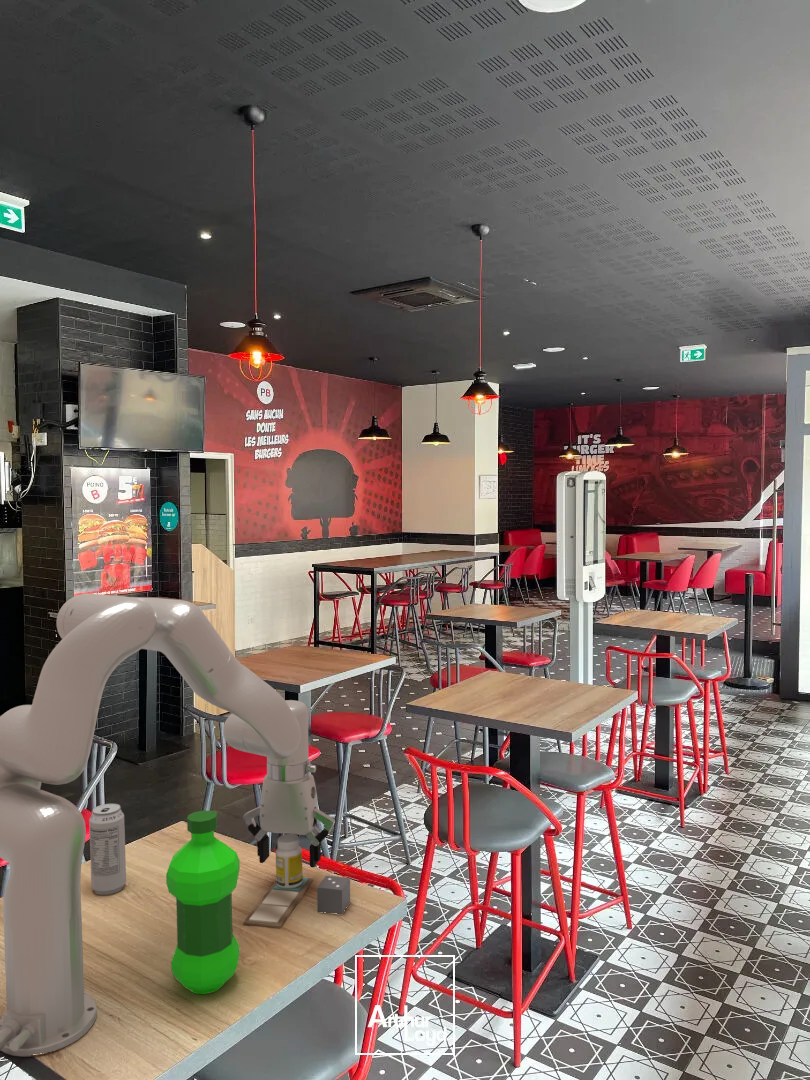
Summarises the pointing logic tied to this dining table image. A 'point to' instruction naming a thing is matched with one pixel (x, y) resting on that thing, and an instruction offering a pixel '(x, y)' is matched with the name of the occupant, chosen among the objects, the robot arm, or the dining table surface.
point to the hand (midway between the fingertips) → (289, 862)
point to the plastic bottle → (204, 907)
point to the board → (277, 905)
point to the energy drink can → (107, 849)
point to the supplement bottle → (289, 861)
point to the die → (333, 894)
